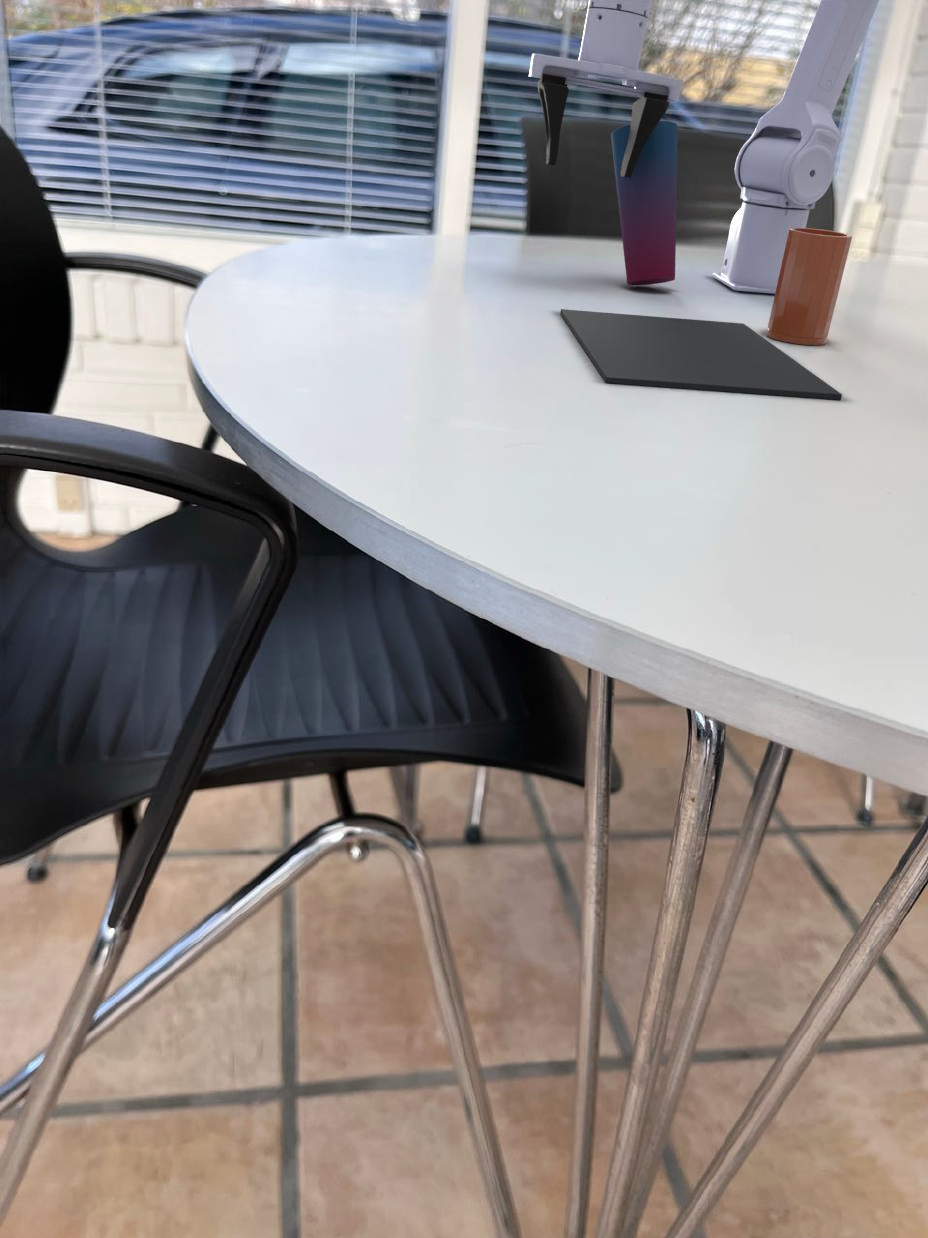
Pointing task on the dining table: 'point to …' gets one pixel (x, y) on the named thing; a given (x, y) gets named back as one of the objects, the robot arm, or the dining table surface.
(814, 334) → the small cup
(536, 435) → the dining table surface
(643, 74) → the robot arm
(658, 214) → the cup
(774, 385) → the mat
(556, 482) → the dining table surface
